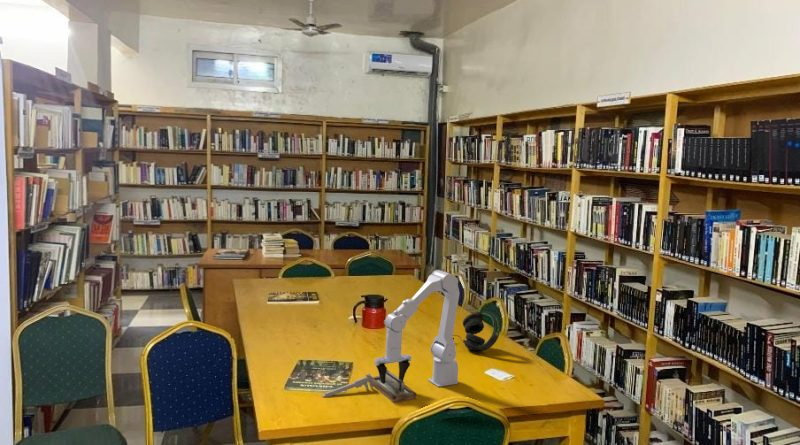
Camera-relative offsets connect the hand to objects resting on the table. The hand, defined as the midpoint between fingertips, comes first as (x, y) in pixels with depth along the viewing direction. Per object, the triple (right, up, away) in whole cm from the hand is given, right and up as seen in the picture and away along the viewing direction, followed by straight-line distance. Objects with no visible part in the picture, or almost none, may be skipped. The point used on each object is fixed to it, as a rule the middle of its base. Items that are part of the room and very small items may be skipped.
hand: (392, 381), depth 224 cm
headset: (+35, 0, +54) cm, 65 cm away
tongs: (0, -2, +1) cm, 2 cm away
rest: (0, -3, 0) cm, 3 cm away
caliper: (-16, -4, -4) cm, 17 cm away
